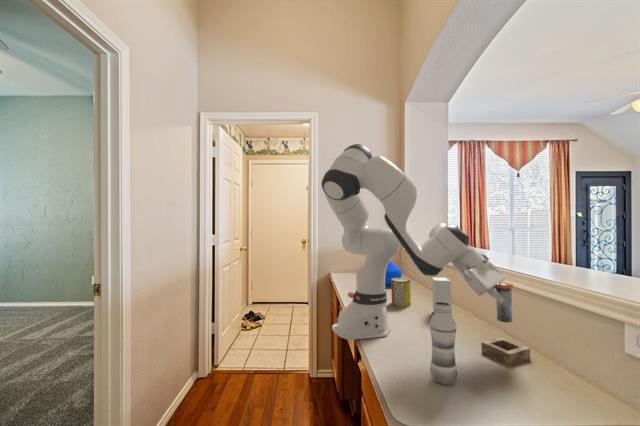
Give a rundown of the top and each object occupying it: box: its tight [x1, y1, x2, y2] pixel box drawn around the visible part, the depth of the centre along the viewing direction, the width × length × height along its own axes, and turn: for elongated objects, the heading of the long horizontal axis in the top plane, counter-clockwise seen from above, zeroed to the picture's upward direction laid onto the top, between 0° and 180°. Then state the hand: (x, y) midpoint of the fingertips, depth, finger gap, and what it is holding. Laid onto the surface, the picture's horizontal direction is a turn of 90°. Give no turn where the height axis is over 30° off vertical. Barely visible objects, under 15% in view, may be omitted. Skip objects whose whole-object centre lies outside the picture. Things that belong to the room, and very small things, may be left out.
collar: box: [481, 336, 531, 366], centre depth 89 cm, size 9×9×3 cm
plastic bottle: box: [429, 302, 459, 386], centre depth 75 cm, size 6×7×20 cm
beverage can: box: [390, 277, 412, 308], centre depth 142 cm, size 9×9×12 cm
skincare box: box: [431, 277, 453, 317], centre depth 126 cm, size 8×7×16 cm
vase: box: [385, 260, 403, 287], centre depth 185 cm, size 18×18×19 cm
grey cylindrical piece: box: [495, 281, 514, 323], centre depth 89 cm, size 5×5×11 cm
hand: (506, 299), depth 88 cm, fingers closed on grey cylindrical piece, 4 cm apart
